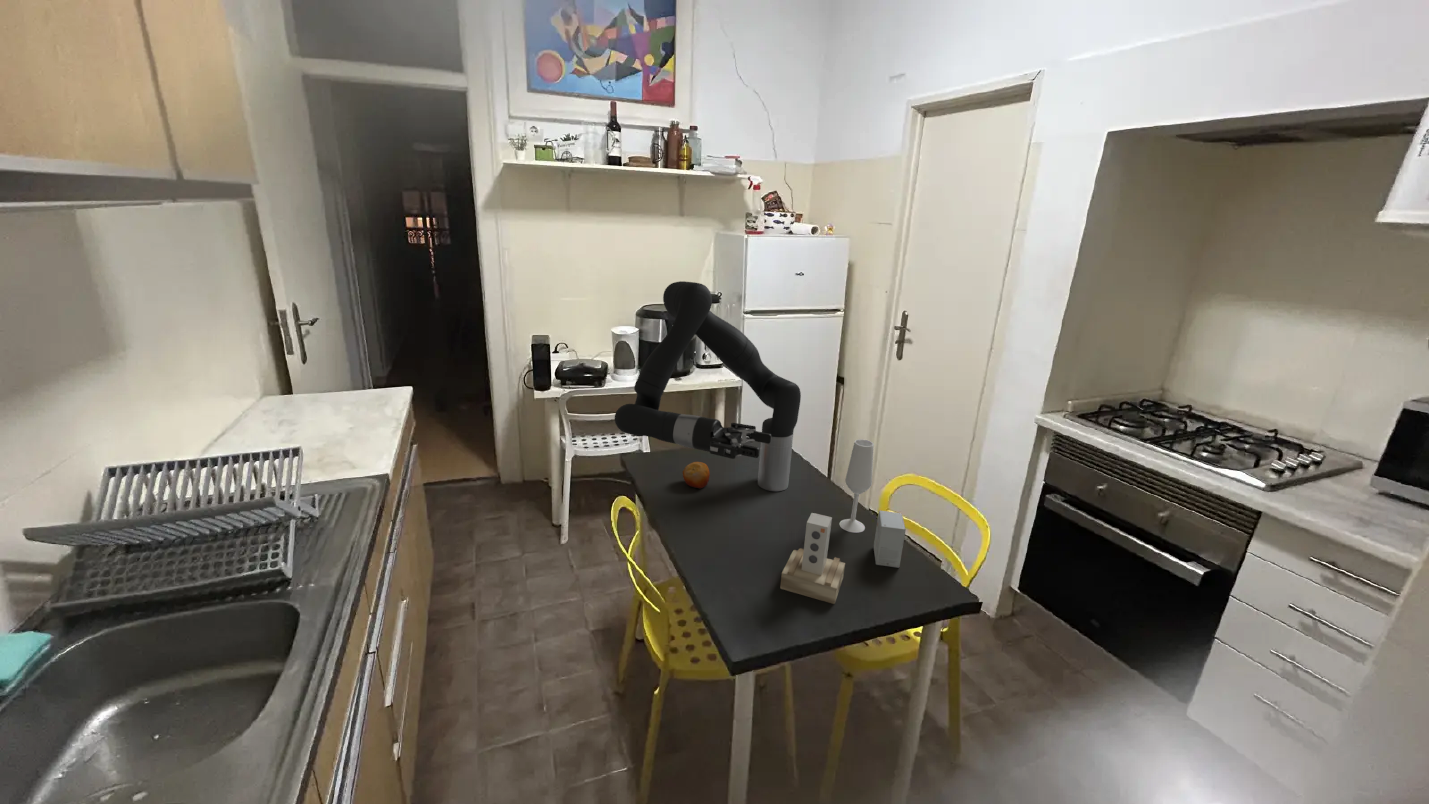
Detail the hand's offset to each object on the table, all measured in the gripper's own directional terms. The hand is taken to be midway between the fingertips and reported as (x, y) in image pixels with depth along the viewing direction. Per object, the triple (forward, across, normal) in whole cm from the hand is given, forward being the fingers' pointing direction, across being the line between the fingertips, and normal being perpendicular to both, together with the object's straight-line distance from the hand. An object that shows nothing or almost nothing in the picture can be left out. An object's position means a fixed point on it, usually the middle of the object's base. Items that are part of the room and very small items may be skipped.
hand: (765, 445), depth 124 cm
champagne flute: (+18, +27, +30) cm, 44 cm away
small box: (+28, +16, +30) cm, 44 cm away
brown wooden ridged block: (+14, -2, +30) cm, 33 cm away
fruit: (-29, +29, +30) cm, 51 cm away
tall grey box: (+14, -2, +26) cm, 29 cm away
